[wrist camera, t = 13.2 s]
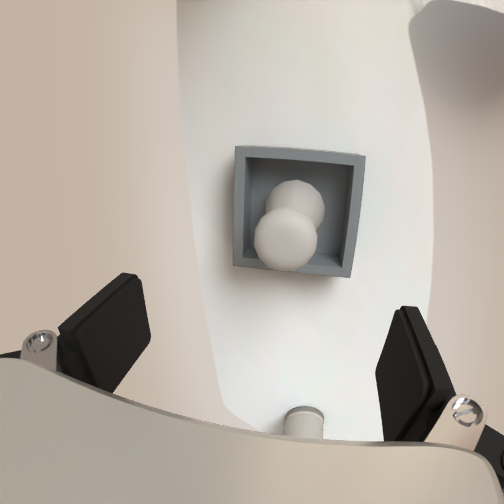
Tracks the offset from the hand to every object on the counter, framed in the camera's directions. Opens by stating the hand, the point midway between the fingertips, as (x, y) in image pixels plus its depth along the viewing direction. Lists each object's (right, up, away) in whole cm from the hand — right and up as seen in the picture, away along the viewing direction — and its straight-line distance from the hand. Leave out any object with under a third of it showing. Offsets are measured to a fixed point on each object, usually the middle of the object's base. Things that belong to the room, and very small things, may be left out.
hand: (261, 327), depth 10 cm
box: (+5, +8, +22) cm, 24 cm away
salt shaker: (+4, +8, +21) cm, 23 cm away
